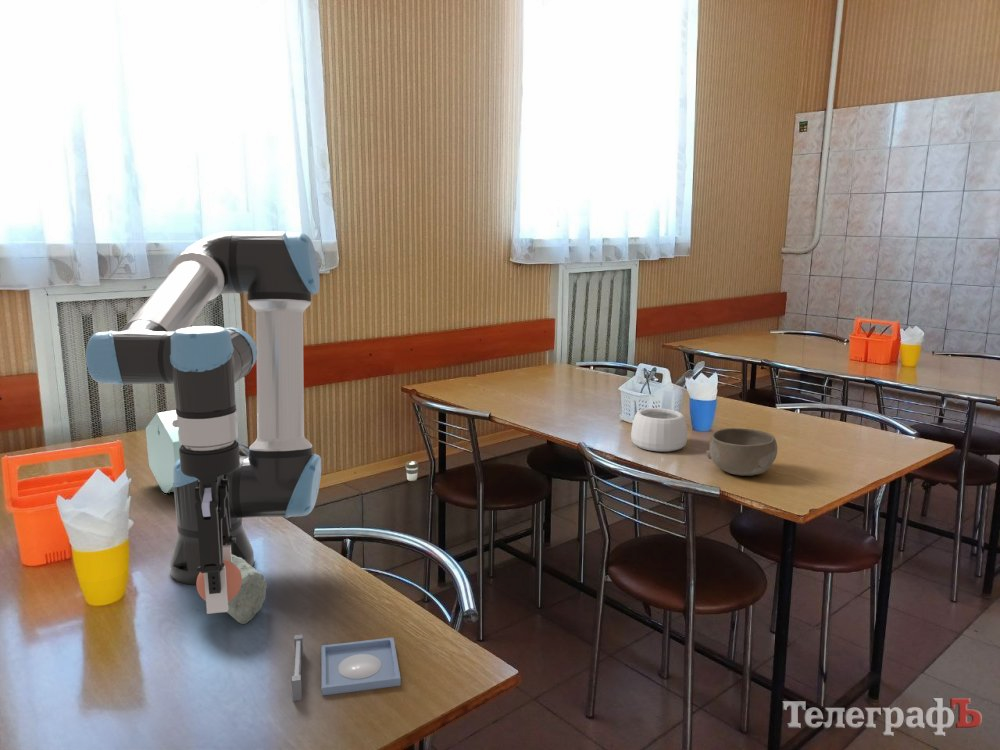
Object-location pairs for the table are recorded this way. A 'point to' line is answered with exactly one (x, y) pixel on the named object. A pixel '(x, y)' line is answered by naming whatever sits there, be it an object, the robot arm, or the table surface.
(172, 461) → the pale green faceted block
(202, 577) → the ball
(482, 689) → the table surface
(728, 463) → the bowl
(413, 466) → the coffee cup
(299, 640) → the fence
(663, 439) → the white faceted pot
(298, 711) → the table surface
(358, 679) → the dish
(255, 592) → the decorative stone
